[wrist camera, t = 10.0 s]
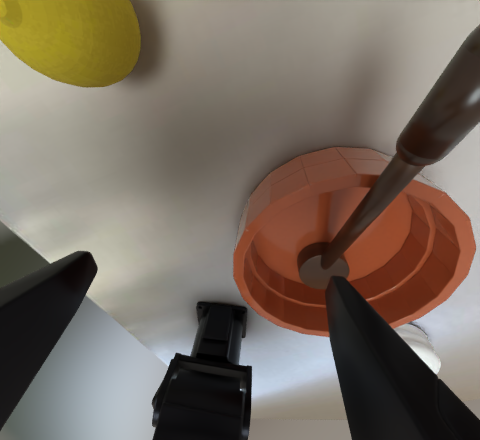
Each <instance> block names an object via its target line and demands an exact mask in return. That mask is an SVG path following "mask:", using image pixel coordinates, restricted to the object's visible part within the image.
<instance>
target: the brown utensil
mask: <svg viewBox="0 0 480 440" xmlns="http://www.w3.org/2000/svg"><path fill="white" fill-rule="evenodd" d="M479 122H480V25H479V26H477V27H476V28H475V29H474V30H473V31H472V32H471V33H470V35H469V36H468V37H467V38H466V40H465V41H464V42H463V44H462V45H461V47H460V48H459V50H458V51H457V53H456V54H455V56H454V57H453V58H452V60H451V61H450V63H449V64H448V66H447V67H446V69H445V70H444V72H443V73H442V74H441V76H440V77H439V79H438V80H437V82H436V83H435V85H434V86H433V88H432V89H431V90H430V92H429V93H428V95H427V96H426V98H425V99H424V101H423V102H422V103H421V105H420V106H419V108H418V109H417V111H416V112H415V114H414V115H413V117H412V118H411V119H410V121H409V122H408V124H407V125H406V127H405V128H404V130H403V131H402V133H401V134H400V136H399V138H398V140H397V143H396V151H397V153H396V154H395V156H394V157H393V158H392V160H391V161H390V162H389V164H388V165H387V167H386V168H385V169H384V171H383V172H382V173H381V175H380V176H379V177H378V179H377V180H376V182H375V183H374V184H373V186H372V187H371V188H370V190H369V191H368V192H367V194H366V195H365V197H364V198H363V199H362V201H361V202H360V203H359V205H358V206H357V207H356V209H355V210H354V212H353V213H352V214H351V216H350V217H349V218H348V220H347V221H346V222H345V224H344V225H343V227H342V228H341V229H340V231H339V232H338V233H337V235H336V236H335V237H334V239H333V240H332V242H331V243H326V242H319V243H314V244H311V245H308V246H307V247H305V248H304V249H302V250H301V252H300V253H299V255H298V257H297V265H298V273H299V277H300V279H301V281H302V282H303V283H304V284H305V285H307V286H309V287H311V288H315V289H326V288H327V285H328V282H329V279H330V277H331V276H333V275H334V276H343V277H345V278H346V279H347V277H348V275H349V266H348V263H347V261H346V258H345V256H344V252H345V251H346V250H347V249H348V248H349V247H350V246H351V245H352V244H353V243H354V242H355V240H356V239H357V238H358V237H359V236H360V235H361V234H362V233H363V232H364V231H365V230H366V229H367V228H368V227H369V225H370V224H371V223H372V222H373V221H374V220H375V219H376V218H377V217H378V216H379V215H380V214H381V213H382V212H383V210H384V209H385V208H386V207H387V206H388V205H389V204H390V203H391V202H392V201H393V200H394V199H395V198H396V197H397V195H398V194H399V193H400V192H401V191H402V190H403V189H404V188H405V187H406V186H407V185H408V184H409V183H410V182H411V180H412V179H413V178H414V177H415V176H416V175H417V174H418V173H419V172H420V171H421V170H422V169H423V168H424V167H425V166H427V165H431V164H434V163H436V162H438V161H440V160H441V159H443V158H444V157H445V156H446V155H447V154H448V153H449V152H450V151H451V150H452V149H453V148H454V147H455V146H456V145H457V144H458V143H459V142H460V141H461V140H462V139H463V138H464V137H465V136H466V135H467V134H468V133H469V132H470V131H471V130H472V129H473V128H474V127H475V126H476V125H477V124H478V123H479Z"/></svg>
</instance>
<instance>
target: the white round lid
mask: <svg viewBox="0 0 480 440" xmlns="http://www.w3.org/2000/svg"><path fill="white" fill-rule="evenodd" d="M394 330H395V331H396V332H397V333H398V335H399V336H400V337H401V338H402V339H403V340H404V341H405V342H406V343H407V344H408V345H409V346H410V347H411V348H412V349H413V350H414V352H415V353H416V354H417V355H418V356H419V357H420V358H421V359H422V360H423V361H424V362H425V363H426V364H427V365H428V366H429V368H430V369H431V370H432V371H433V372H434V373H435V374H437V373H438V371H439V369H440V367H441V362H440V359H439V356H438V355H437V354H436V353H435V352H434V348H433V346H432V344H431V343H430V342H429V340H428V337H427V336H426V335H425V333H424V332H423V331H422V330H420V329H419V328H417V327H415V326H413V325H410V324H407V323H406V324H404V325H402V326H399V327H397V328H394Z"/></svg>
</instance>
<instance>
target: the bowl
mask: <svg viewBox="0 0 480 440" xmlns="http://www.w3.org/2000/svg"><path fill="white" fill-rule="evenodd" d="M392 158H393V157H390V156H388V155H385V154H383V153H380V152H378V151H375V150H373V149H367V148H348V147H332V148H328V149H324V150H320V151H316V152H312V153H308V154H304V155H300V156H298V157H296V158H294V159H293V160H291V161H289V162H287V163H286V164H284V165H282V166H281V167H279V168H277V169H275V170H274V171H272V172H271V173H269V175H268V176H267V177H266V178H265V179H264V180H263V181H262V182H261V183H260V184H259V185H258V187H257V188H256V189H255V190H254V191H253V192H252V193H251V195H250V197H249V199H248V201H247V204H246V206H245V208H244V211H243V213H242V216H241V219H240V224H239V229H238V235H237V239H236V244H235V249H234V254H233V277H234V280H235V282H236V284H237V287H238V289H239V291H240V293H241V296H242V298H243V299H244V300H245V301H246V302H247V303H248V304H249V305H250V306H251V307H252V308H253V309H254V310H255V311H256V312H257V313H258V314H259V315H260V316H262V317H264V318H265V319H267V320H269V321H271V322H272V323H274V324H276V325H278V326H280V327H283V328H286V329H289V330H293V331H296V332H299V333H302V334H308V335H316V336H325V337H330V336H329V328H328V319H327V309H326V300H325V291H326V289H315V288H311V287H309V286H307V285H305V284H304V283H303V282H302V281H301V279H300V277H299V273H298V265H297V257H298V255H299V253H300V252H301V250H302V249H304V248H305V247H307V246H308V245H311V244H314V243H319V242H326V243H331V242H332V240H333V239H334V237H335V236H336V235H337V233H338V232H339V231H340V229H341V228H342V227H343V225H344V224H345V222H346V221H347V220H348V218H349V217H350V216H351V214H352V213H353V212H354V210H355V209H356V207H357V206H358V205H359V203H360V202H361V201H362V199H363V198H364V197H365V195H366V194H367V192H368V191H369V190H370V188H371V187H372V186H373V184H374V183H375V182H376V180H377V179H378V177H379V176H380V175H381V173H382V172H383V171H384V169H385V168H386V167H387V165H388V164H389V162H390V161H391V160H392ZM475 251H476V244H475V240H474V235H473V231H472V226H471V222H470V218H469V217H468V216H467V214H466V213H465V212H464V211H463V210H462V209H461V208H460V207H459V206H458V205H457V204H456V203H455V202H454V201H453V200H452V199H451V198H450V197H449V196H448V195H447V193H445V192H444V191H443V190H441V189H440V188H438V187H437V186H436V185H434V184H433V183H431V182H430V181H429V180H427V179H426V178H424V177H423V176H421V175H420V174H419V173H418V174H417V175H416V176H415V177H414V178H413V179H412V180H411V182H410V183H409V184H408V185H407V186H406V187H405V188H404V189H403V190H402V191H401V192H400V193H399V194H398V195H397V197H396V198H395V199H394V200H393V201H392V202H391V203H390V204H389V205H388V206H387V207H386V208H385V209H384V210H383V212H382V213H381V214H380V215H379V216H378V217H377V218H376V219H375V220H374V221H373V222H372V223H371V224H370V225H369V227H368V228H367V229H366V230H365V231H364V232H363V233H362V234H361V235H360V236H359V237H358V238H357V239H356V240H355V242H354V243H353V244H352V245H351V246H350V247H349V248H348V249H347V250H346V251H345V252H344V256H345V258H346V261H347V263H348V266H349V275H348V277H347V280H348V281H349V282H350V284H351V285H352V286H353V287H354V288H355V289H356V290H357V291H358V292H359V293H360V294H361V295H362V296H363V297H364V298H365V299H366V301H367V302H368V303H369V304H370V305H371V306H372V307H373V308H374V309H375V310H376V311H377V312H378V313H379V314H380V315H381V316H382V318H383V319H384V320H385V321H386V322H387V323H388V324H389V325H390V326H391V327H392V328H393V329H394V328H397V327H399V326H402V325H404V324H406V323H409V322H411V321H414V320H416V319H419V318H421V317H422V316H424V315H425V314H427V313H428V312H430V311H431V310H433V309H434V308H436V307H437V306H439V305H440V304H442V303H443V302H444V301H446V300H447V299H448V298H449V297H450V296H451V295H452V293H453V292H454V291H455V290H456V289H457V287H458V286H459V285H460V284H461V283H462V281H463V280H464V279H465V278H466V277H467V275H468V273H469V270H470V267H471V263H472V260H473V257H474V254H475Z"/></svg>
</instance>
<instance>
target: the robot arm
mask: <svg viewBox="0 0 480 440" xmlns="http://www.w3.org/2000/svg"><path fill="white" fill-rule="evenodd" d="M97 270H98V268H97V265H96V263H95V260H94V258H93V256H92V254H91V253H90V252H87V251H77V252H74V253H72V254H70V255H68V256H66V257H64V258H62V259H60V260H58V261H55V262H53V263H51V264H49V265H47V266H45V267H43V268H41V269H39V270H37V271H34V272H32V273H30V274H28V275H26V276H24V277H22V278H20V279H18V280H15V281H13V282H11V283H9V284H7V285H5V286H3V287H1V288H0V431H1V429H2V427H3V426H4V424H5V423H6V421H7V420H8V418H9V416H10V415H11V413H12V412H13V410H14V409H15V407H16V406H17V404H18V402H19V401H20V399H21V398H22V396H23V395H24V393H25V391H26V390H27V388H28V387H29V385H30V384H31V382H32V381H33V379H34V377H35V376H36V374H37V373H38V371H39V370H40V368H41V366H42V365H43V363H44V362H45V360H46V358H47V357H48V355H49V354H50V352H51V351H52V349H53V348H54V346H55V345H56V343H57V341H58V340H59V338H60V337H61V335H62V334H63V332H64V330H65V329H66V327H67V326H68V324H69V323H70V321H71V319H72V318H73V316H74V315H75V313H76V312H77V310H78V308H79V306H80V304H81V303H82V301H83V298H84V297H85V295H86V293H87V291H88V289H89V287H90V285H91V283H92V281H93V279H94V277H95V275H96V273H97ZM325 300H326V309H327V319H328V328H329V336H330V342H331V348H332V352H333V356H334V361H335V365H336V370H337V374H338V379H339V383H340V388H341V392H342V397H343V401H344V406H345V410H346V415H347V419H348V424H349V428H350V433H351V437H352V440H480V420H479V419H478V418H477V417H476V416H475V415H474V414H473V412H471V411H470V410H469V408H468V407H467V406H465V404H464V403H463V402H462V401H461V400H460V399H459V398H458V397H457V396H456V395H455V394H454V393H453V392H452V391H451V390H450V389H449V388H448V386H447V385H446V384H445V383H444V382H443V381H442V380H441V379H438V376H437V375H436V374H435V373H434V372H433V371H432V370H431V369H430V368H429V366H428V365H427V364H426V363H425V362H424V361H423V360H422V359H421V358H420V357H419V356H418V355H417V354H416V353H415V352H414V350H413V349H412V348H411V347H410V346H409V345H408V344H407V343H406V342H405V341H404V340H403V339H402V338H401V337H400V336H399V335H398V333H397V332H396V331H395V330H394V329H393V328H392V327H391V326H390V325H389V324H388V323H387V322H386V321H385V320H384V319H383V318H382V316H381V315H380V314H379V313H378V312H377V311H376V310H375V309H374V308H373V307H372V306H371V305H370V304H369V303H368V302H367V301H366V299H365V298H364V297H363V296H362V295H361V294H360V293H359V292H358V291H357V290H356V289H355V288H354V287H353V286H352V285H351V284H350V282H349V281H348V280H347V279H346V278H345V277H343V276H334V275H333V276H331V277H330V279H329V282H328V285H327V288H326V291H325ZM196 308H197V315H198V322H199V327H198V331H197V334H196V338H195V341H194V345H193V349H192V352H191V356H186V355H181V354H180V353H176V354H175V357H174V359H172V360H171V362H170V365H169V368H168V370H167V373H166V375H165V377H164V380H163V381H162V383H161V385H160V387H159V388H158V390H157V392H156V394H155V396H154V398H153V400H152V406H153V409H154V412H153V420H152V426H153V427H156V429H155V433H154V436H153V440H248V435H249V427H250V416H251V387H252V366H248V365H247V366H242V365H239V358H240V349H241V340H242V338H245V336H246V321H247V309H246V308H245V307H238V306H229V305H220V304H211V303H202V302H199V303H197V306H196ZM240 389H242V390H241V391H240Z"/></svg>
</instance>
